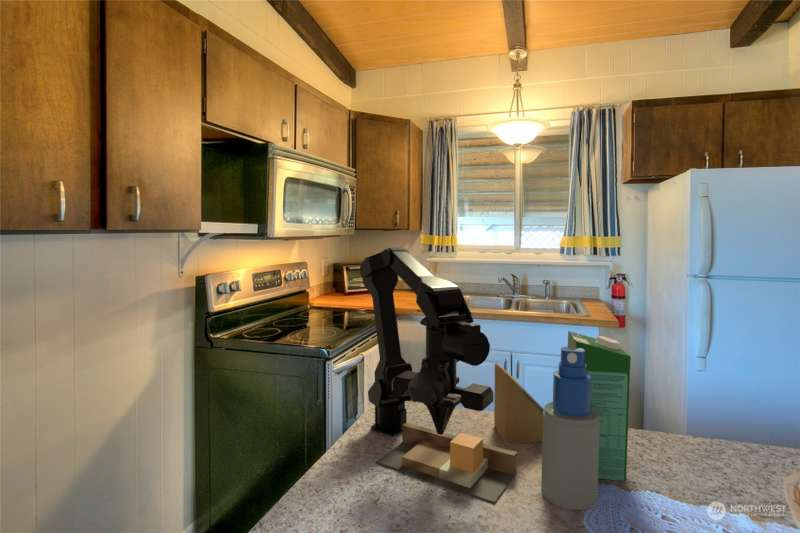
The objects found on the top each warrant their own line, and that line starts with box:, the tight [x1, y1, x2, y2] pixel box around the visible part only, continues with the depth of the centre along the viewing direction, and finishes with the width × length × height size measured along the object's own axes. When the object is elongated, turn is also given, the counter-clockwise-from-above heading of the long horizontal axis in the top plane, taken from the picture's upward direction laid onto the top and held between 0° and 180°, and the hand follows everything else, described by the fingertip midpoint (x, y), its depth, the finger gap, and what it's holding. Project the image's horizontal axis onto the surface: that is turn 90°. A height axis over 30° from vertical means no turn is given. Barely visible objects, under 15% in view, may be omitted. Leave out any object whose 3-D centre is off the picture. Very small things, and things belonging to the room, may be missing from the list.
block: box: [450, 432, 484, 473], centre depth 81 cm, size 4×4×4 cm
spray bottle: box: [540, 346, 600, 511], centre depth 74 cm, size 9×9×25 cm
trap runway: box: [375, 422, 518, 504], centre depth 83 cm, size 24×11×4 cm, turn 57°
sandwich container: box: [493, 363, 545, 443], centre depth 98 cm, size 9×15×15 cm, turn 95°
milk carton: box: [567, 330, 632, 482], centre depth 83 cm, size 9×9×25 cm
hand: (440, 433), depth 83 cm, fingers closed
